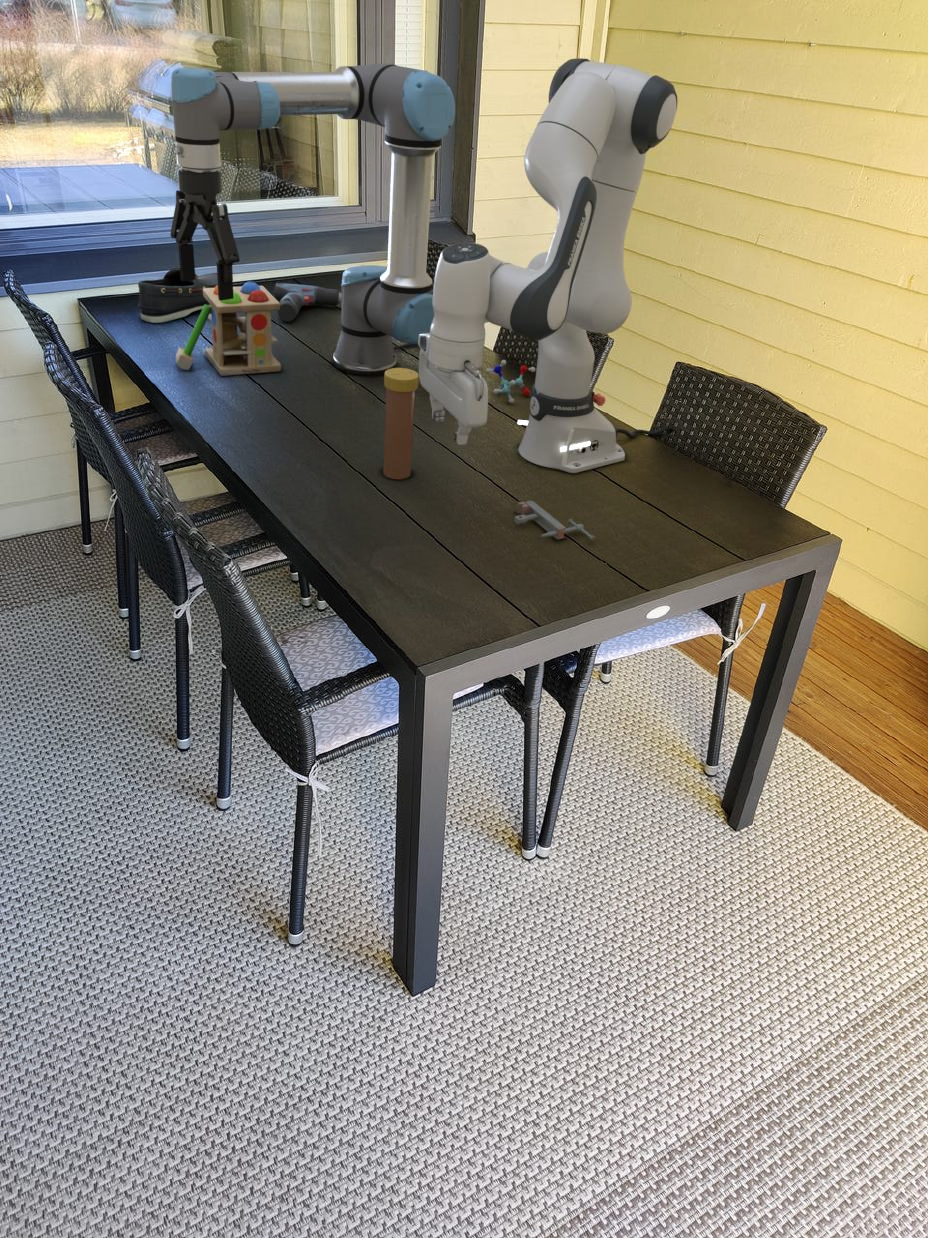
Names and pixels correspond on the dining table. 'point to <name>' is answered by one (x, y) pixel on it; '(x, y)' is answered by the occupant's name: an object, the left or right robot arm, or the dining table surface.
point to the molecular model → (505, 383)
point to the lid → (401, 379)
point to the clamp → (546, 521)
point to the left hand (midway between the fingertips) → (206, 289)
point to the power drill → (302, 298)
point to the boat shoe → (173, 296)
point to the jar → (398, 434)
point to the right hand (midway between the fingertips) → (448, 431)
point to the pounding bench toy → (229, 347)
